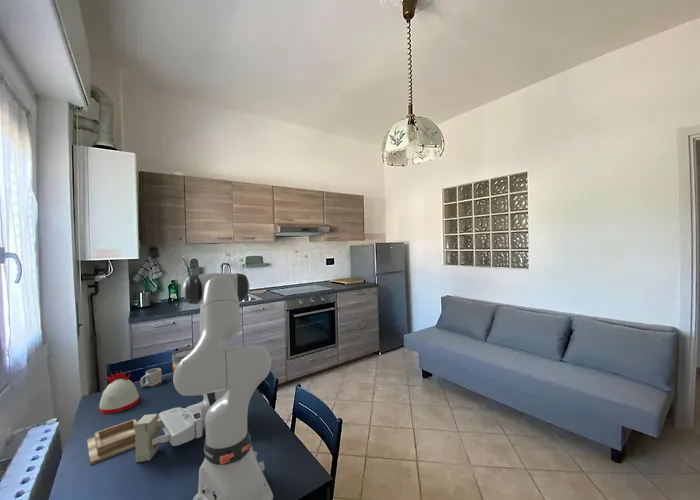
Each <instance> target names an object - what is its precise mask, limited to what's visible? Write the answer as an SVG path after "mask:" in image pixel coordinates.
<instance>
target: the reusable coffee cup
mask: <svg viewBox="0 0 700 500" xmlns="http://www.w3.org/2000/svg"><path fill="white" fill-rule="evenodd" d="M193 349H194V348H184V349H181V350H177V351H175V352H173V353H172V355H171V361H172V370H173V371H172V372H173V373H174V371H175V368H176V366H177V365H178V363H179V362H180V361H181V360H182V359H183V358H184V357H186V356H187V355H188V354H189V353H190V352H191V351H192V350H193Z"/></svg>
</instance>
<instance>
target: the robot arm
mask: <svg viewBox="0 0 700 500" xmlns="http://www.w3.org/2000/svg"><path fill="white" fill-rule="evenodd" d="M250 287H251V286H250V282H249V279H248V277H247V275H246V274H244V273H227V272H226V273H225V272H224V273H221V272H211V273H210V272H209V273H202V274H198V273H194V274H192V275H188V276H186V278H185V281H184V283H182V289H181V290H182V291H181V292H182V296H183V297H184V300H185V302H187V304H191V305H199V304H200V309H199V339H198V341H197V342H196V343H195V346H194V347H193V348H192V349H193V350H192V351H191V352H190V353H189V354H188V355H187V356H186V357H184V358H183V359H182V360H181V361H180V362H179V363H178V365H177V366H176V368H175V371H174V372H173V376H172V378H173V379H172V382H173V387H174V388H175V390H176V392H178V393H179V394H180V395H181V396H183V397H184V396H187V397H188V396H191V397H192V396H193V397H194V396H203V400H202V401H200V402H197V403H195V404H191V405H189V406H186V407H185V408H182V407H181V406H178V407H173V408H170V409H167V410H163V411H161V412H160V413H158V428H159V427H160V428H161V429H162V431H163V432H164V435H159V434H158V435H157V436H155V437H152V439H151V442H152V444H153V445H154V444H157V443H158V444H161V443H167V442H169V443H170V445H171V447H177V446H180V445H183V444H185V443H188V442H190V441H192V440H194V439H199V438H201V437H202V436H203V429H204V428H205V439H204V443H203V451H204V452H203V453H204V459H203V461H202V463H201V465H200V467H199V470H198V490H197V491H198V492H197V493H196V494H195V495H194V497H193V499H192V500H273V499H274V494H273V492H272V490H271V487H270V485H269V483H268V482H267V479H266V476H265V475H264V472H263V471H265V462H264V461H259V462H258V460H257V457H258V452H257V451H254V449H253V446H252V441H251V435H250V432H249V429H248V412H249V404H250V401H251V398H252V396H253V394H254V393H255V391H256V389H257V388H258V386H260V384H261V383H262V382H263V381H264V380H265V379H266V378H267V377H268V375H269V374H270V371H271V368H272V357H271V354H270V352H269V351H268V349H267V348H266V347H265V346H263V345H243V346H238V347H231V348H226V349H224V348H222V346H223V345H224V344H226V342H228V341H230V340H232V339H233V338H235V336H237V335H238V333H240V330H241V328H242V318H241V307H240V302H242V301H244V300H245V299H246V298H248V296H249V292H250Z"/></svg>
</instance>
